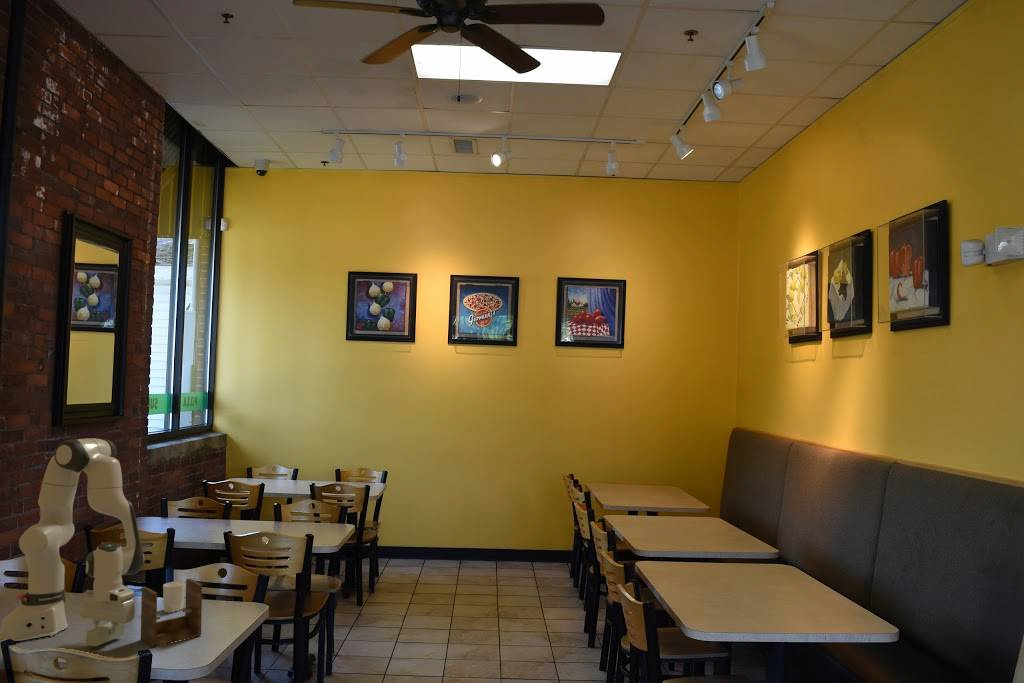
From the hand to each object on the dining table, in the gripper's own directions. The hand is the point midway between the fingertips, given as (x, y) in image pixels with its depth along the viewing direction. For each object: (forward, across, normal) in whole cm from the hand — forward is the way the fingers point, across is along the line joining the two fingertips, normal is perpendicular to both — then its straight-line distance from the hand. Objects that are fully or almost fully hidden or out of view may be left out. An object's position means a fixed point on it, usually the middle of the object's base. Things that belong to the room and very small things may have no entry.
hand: (105, 633), depth 257 cm
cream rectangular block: (+2, 0, 0) cm, 2 cm away
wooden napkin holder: (+3, +17, +11) cm, 21 cm away
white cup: (+4, -5, +38) cm, 38 cm away
